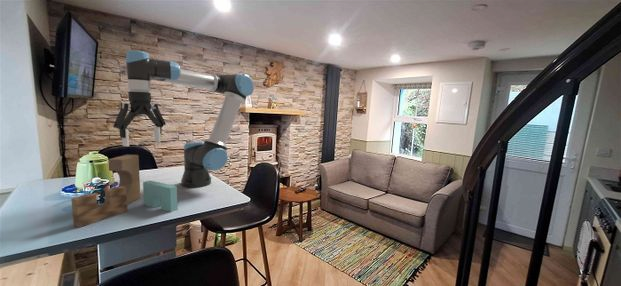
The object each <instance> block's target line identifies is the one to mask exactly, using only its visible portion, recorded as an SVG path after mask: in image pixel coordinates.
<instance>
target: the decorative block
mask: <svg viewBox="0 0 621 286" xmlns="http://www.w3.org/2000/svg"><path fill="white" fill-rule="evenodd" d="M107 162H108V163H107V164H108V171H111V172H115V173H117V175H118V177H119V184H118V186H117V187H119V186H123V187H126V196H127V206H128V205H129V204H131V203H133V202H135V201H137V200H139V199H141V182H140V181H141V180H140V179H141V177H140V159H139V154H124V155H120V156H116V157H115V156H114V157H113V158H109V159H107Z"/></svg>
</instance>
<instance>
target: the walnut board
mask: <svg viewBox="0 0 621 286" xmlns="http://www.w3.org/2000/svg"><path fill="white" fill-rule="evenodd" d="M118 186H119V185H118ZM118 186H115V187H112V188H108V189H105V190H104V195H105V197H104V199H105V202H104V203H100V204H98V199H97V198H98V197H97V194H95V193H87V194H83V195H78V196H75V197H71V210H72V220H73V221H72V222H73V227H75V228H78V229H79V228H82V227H85V226H88V225H89V226H90V225H91V224H95V223H99V222H100V221H103V220H106V219H110V218H113V217H115V216H117V215H118V216H119V215H121V214H124V213H127V212H128V205H127V196H126V187H123V186H119V187H118Z"/></svg>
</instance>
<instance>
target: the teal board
mask: <svg viewBox="0 0 621 286" xmlns="http://www.w3.org/2000/svg"><path fill="white" fill-rule="evenodd" d="M142 186H143V188H142V189H143V205H144V206H147V207H151V208H156V207H159V206H160V210H163V211H165V212H170V213H173V212H175V211H177V210H178V186H176V185H172V184H169V183H168V184H167V183H165V182H160V181H159V182H158V181H154V180H147V181H143V183H142Z"/></svg>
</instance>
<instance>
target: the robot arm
mask: <svg viewBox="0 0 621 286" xmlns="http://www.w3.org/2000/svg"><path fill="white" fill-rule="evenodd" d="M125 53H126V54H125V63H126V74H127V90H128V100H129V103H125V102H122V103H121V104H120V110H119V112H118V114H117V117H116V119H115V121H114V123H113V125H112V127H113V128H114V129H118V130H119V137H120V138H121V141H122V143H121V144H122V147H130V138H129V137H130V136H129V128H128V126H130V124H131V122H132V121H133V120H134V119H135V117H136V116H139V115H140V116H141V115H142V116H143V115H144V116H147V118H148V119H149V120H150V121H151V122H152V123H153V125H154V127H153V131H154V132H153V135H154V143H161V142H162V140H161V139H162V138H161V135H162V128H163V127H164V126H166V122H165V120H164V117H163V116H162V113H161V112H160V110H159V104H158V103H151V101H152V93H151V92H150V91H151V89H152V88H151V81H157V82H165V83H170V84H175V85H183V86H186V87H188V86H189V87H192V88H193V87H195V88H200V89H206V90H208V91H209V92H212V93H217V94H221V95H223V96H224V97H225V98H224V100H223V103H222V106H221V108H220V110H219V113H218V115H217V118H216V121H215V123H214V125H213V128H212V131H211V133H210V135H209V138H207V139H204V141H198V142H197V141H195V142H186V143H184V145H183V159H184V161H183V163H184V169H183V170H184V172H183V174H182V178H181V180H180V182H181V183H180V185H181V186H182V187H185V188H201V187H206V186H208V185H210V184H212V177H211V175H210V171H219V170H221V169H222V168H224V167H225V166H226V164H227V163H228V159H229V156H228V152H227V150H228V146H227V141H228V138H229V136H230V133H231V131H232V128H233V126H234V122H235V120H236V118H237V115H238V113H239V110H240V107H241V104H243V103H245V102H246V99H247V97H248V96H251V95H252V94H253V92H254V89H255V85H254V82H253V79H252V77H250V76H249V75H248V74H245V73H237V74H232V73H231V74H214V73H212V74H206V73H202V72H201V73H200V72H196V71H192V70H191V71H190V70H187V69H182V68H181V67H180V64H179V63H178V62H175V61H171V60H169V61H168V60H161V59H154V58H150V55H149V53H148V52H147V51H143V50H136V49H131V50H130V49H129V50H127V51H126V52H125ZM129 109H130V110H129ZM128 111H129V112H128Z"/></svg>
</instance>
